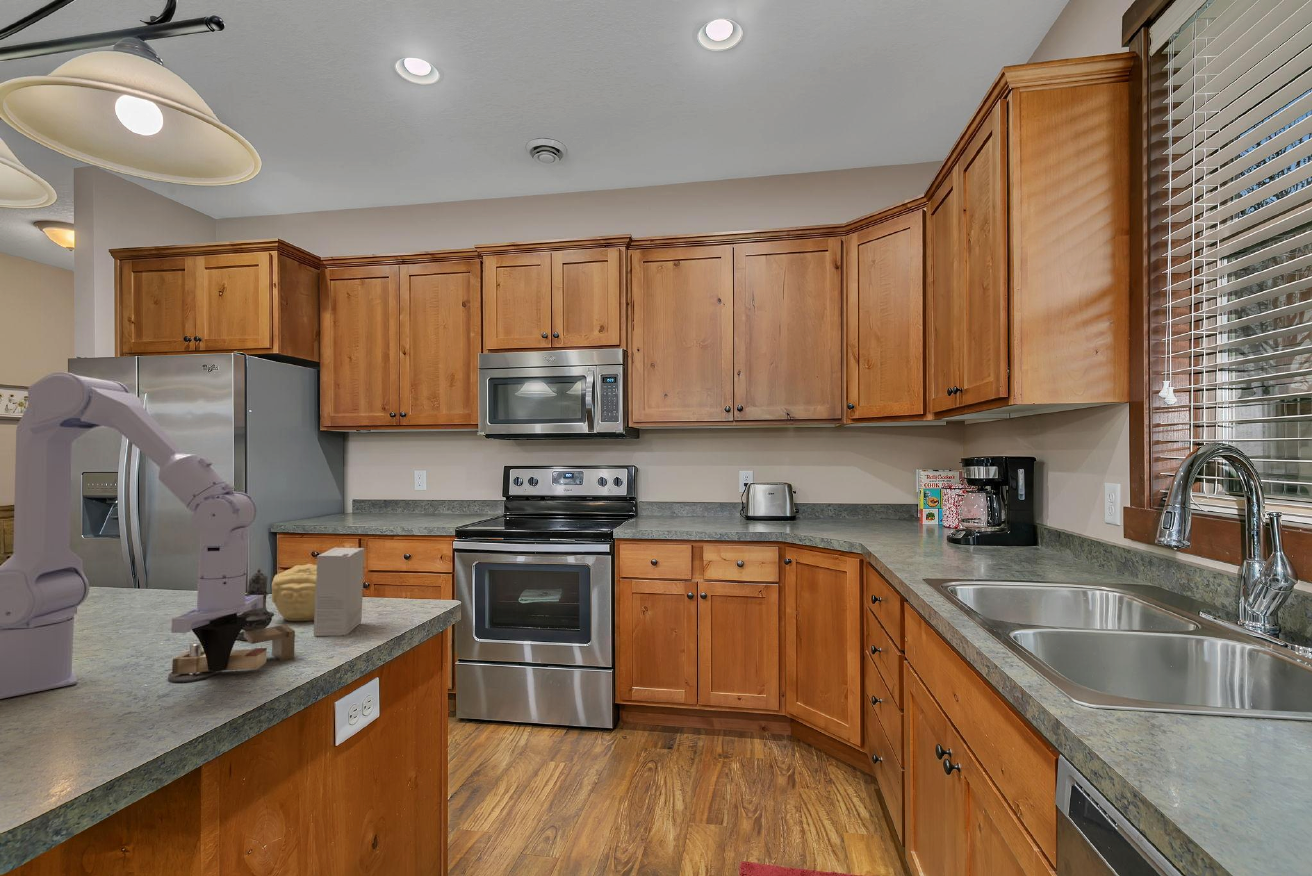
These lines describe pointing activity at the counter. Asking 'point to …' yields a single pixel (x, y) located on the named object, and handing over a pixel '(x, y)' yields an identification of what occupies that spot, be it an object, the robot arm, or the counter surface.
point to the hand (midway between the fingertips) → (218, 669)
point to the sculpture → (295, 592)
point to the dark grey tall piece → (256, 616)
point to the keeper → (275, 640)
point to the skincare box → (338, 591)
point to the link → (235, 662)
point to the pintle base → (189, 677)
